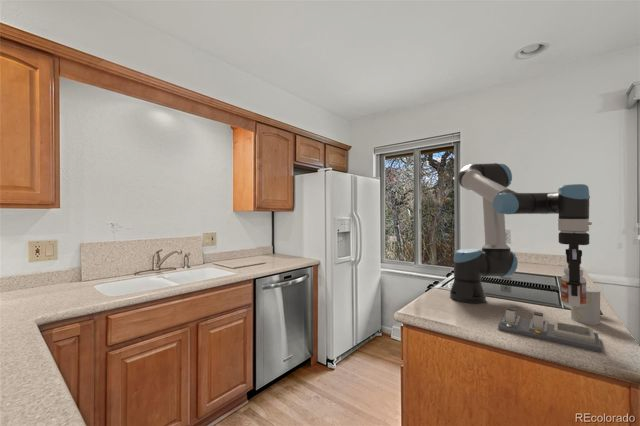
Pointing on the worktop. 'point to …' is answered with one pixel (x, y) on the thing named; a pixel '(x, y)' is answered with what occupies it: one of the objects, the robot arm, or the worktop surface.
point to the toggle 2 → (538, 320)
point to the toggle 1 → (510, 315)
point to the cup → (588, 308)
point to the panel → (554, 333)
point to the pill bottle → (566, 291)
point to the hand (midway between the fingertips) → (573, 302)
